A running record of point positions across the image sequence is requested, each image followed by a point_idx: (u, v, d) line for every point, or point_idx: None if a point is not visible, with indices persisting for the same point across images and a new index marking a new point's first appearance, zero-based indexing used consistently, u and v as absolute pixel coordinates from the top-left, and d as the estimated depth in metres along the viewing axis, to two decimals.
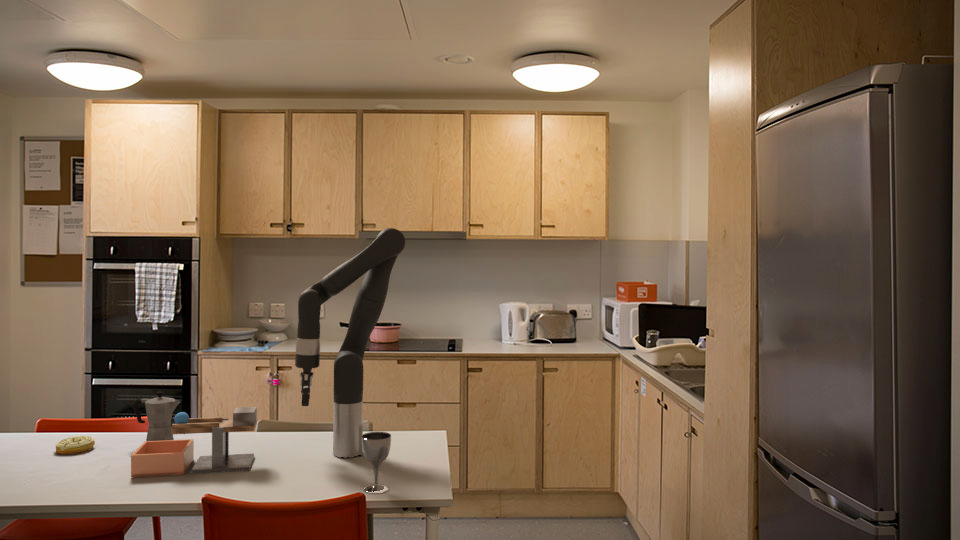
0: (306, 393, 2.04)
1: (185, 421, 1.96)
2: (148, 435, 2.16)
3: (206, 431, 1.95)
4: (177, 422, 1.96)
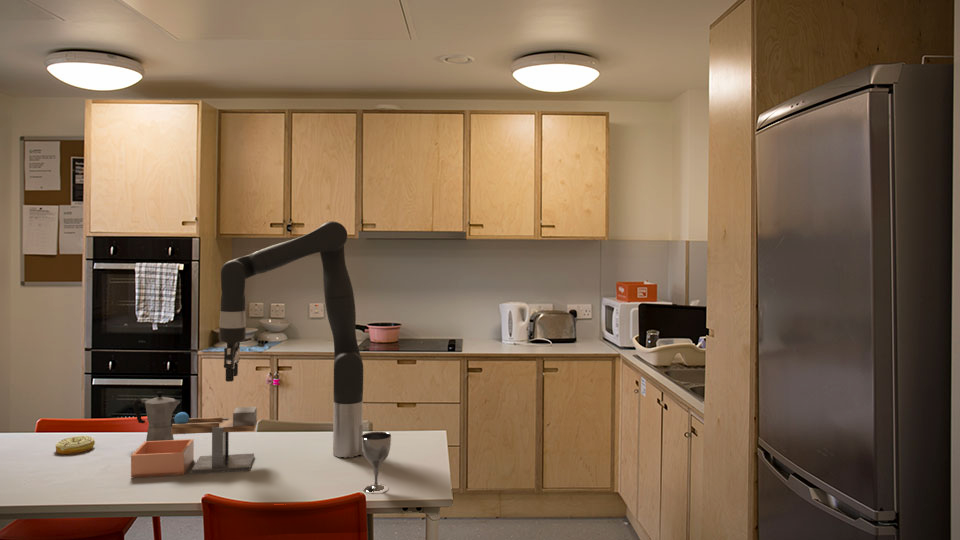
0: (229, 368, 1.95)
1: (185, 421, 1.96)
2: (148, 435, 2.16)
3: (206, 431, 1.95)
4: (177, 422, 1.96)
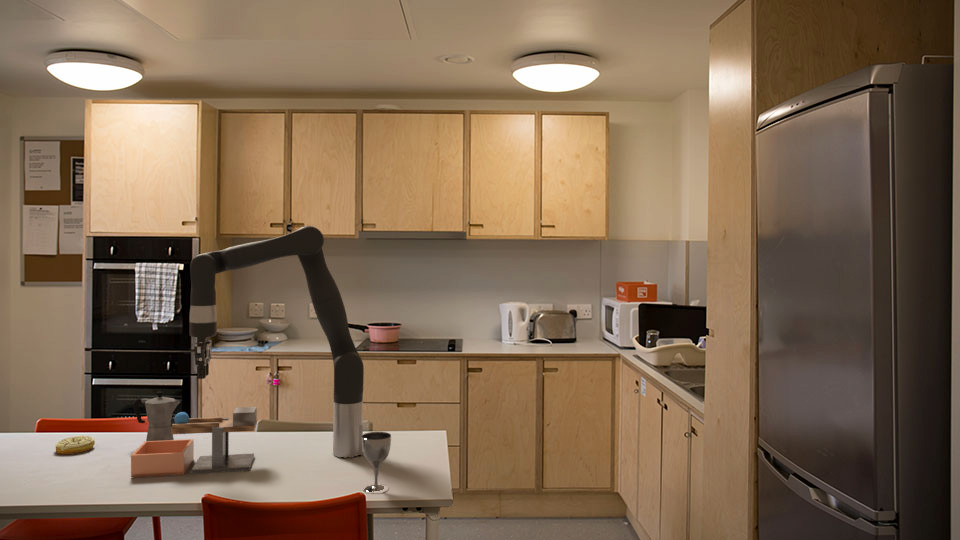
0: (201, 365, 1.94)
1: (185, 421, 1.96)
2: (148, 435, 2.16)
3: (206, 431, 1.95)
4: (177, 422, 1.96)
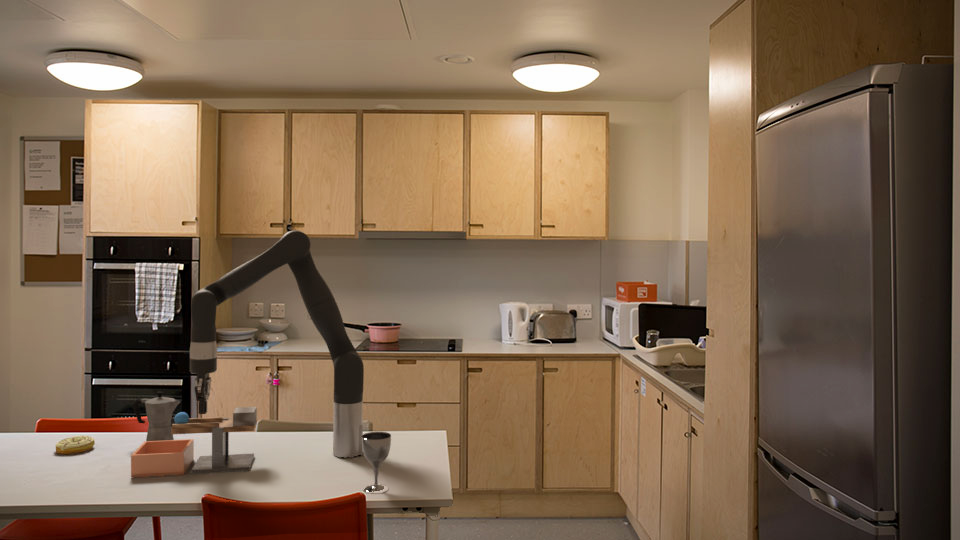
0: (202, 401, 1.96)
1: (185, 421, 1.96)
2: (148, 435, 2.16)
3: (206, 431, 1.95)
4: (177, 422, 1.96)
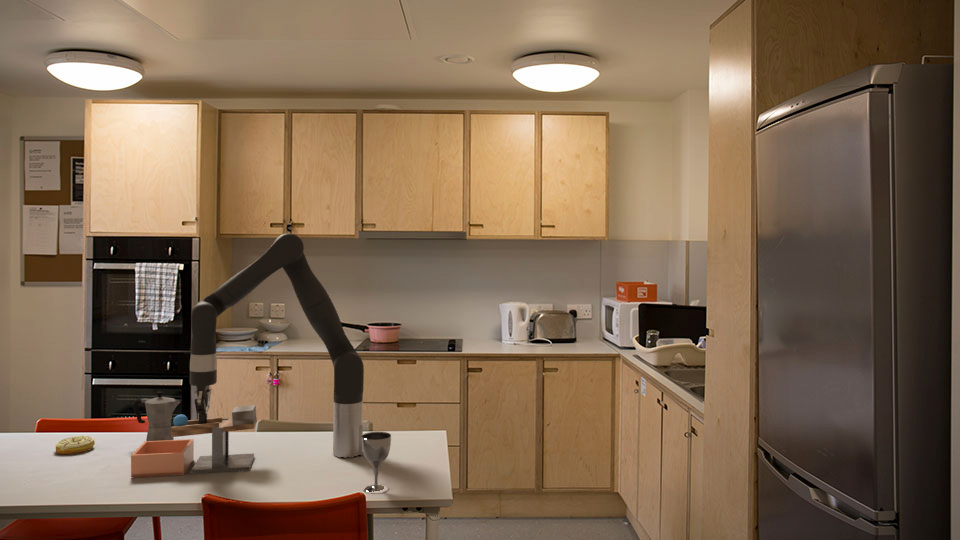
0: (202, 413, 1.96)
1: (184, 423, 1.96)
2: (148, 435, 2.16)
3: (206, 432, 1.95)
4: (176, 425, 1.96)
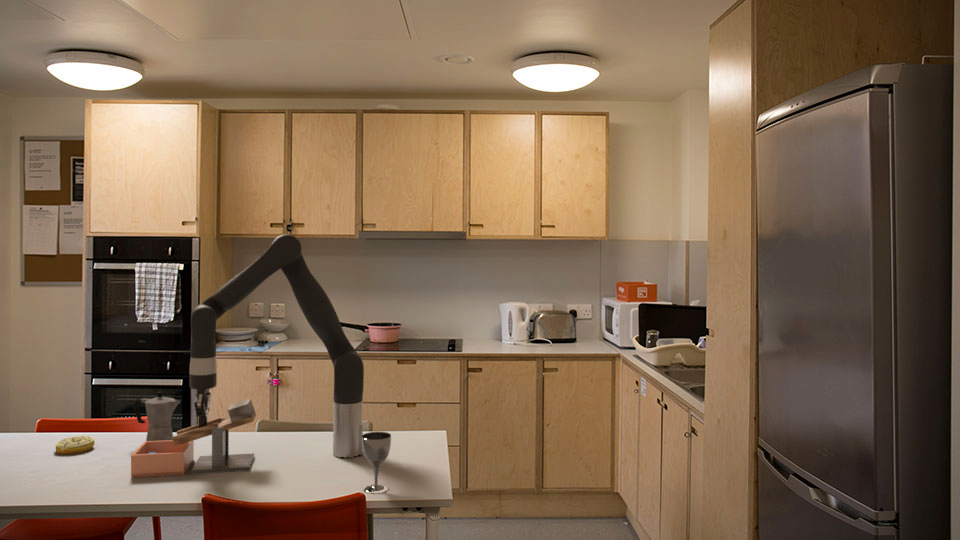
0: (202, 416, 1.96)
1: None
2: (148, 435, 2.16)
3: (207, 434, 1.95)
4: None
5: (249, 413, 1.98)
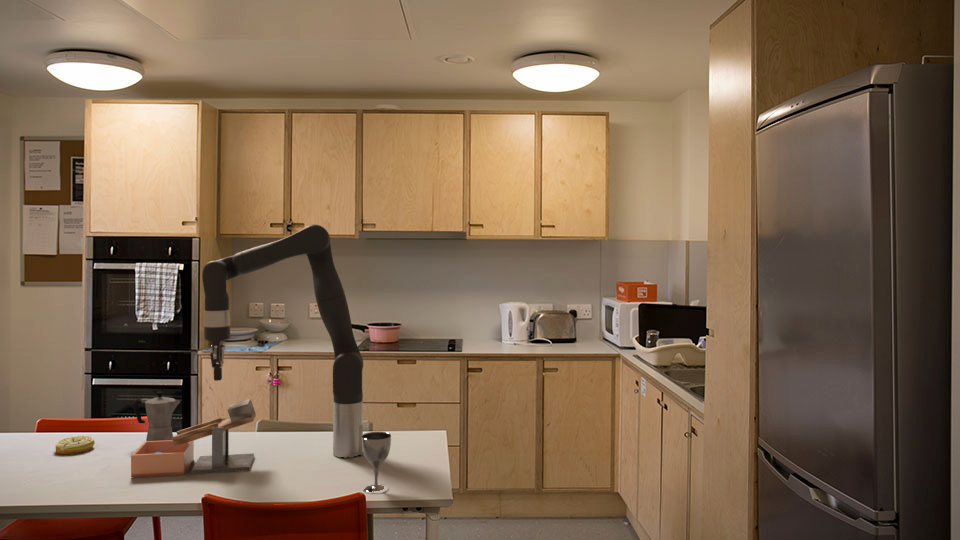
0: (217, 367, 2.03)
1: None
2: (148, 435, 2.16)
3: (207, 434, 1.95)
4: None
5: (249, 413, 1.98)
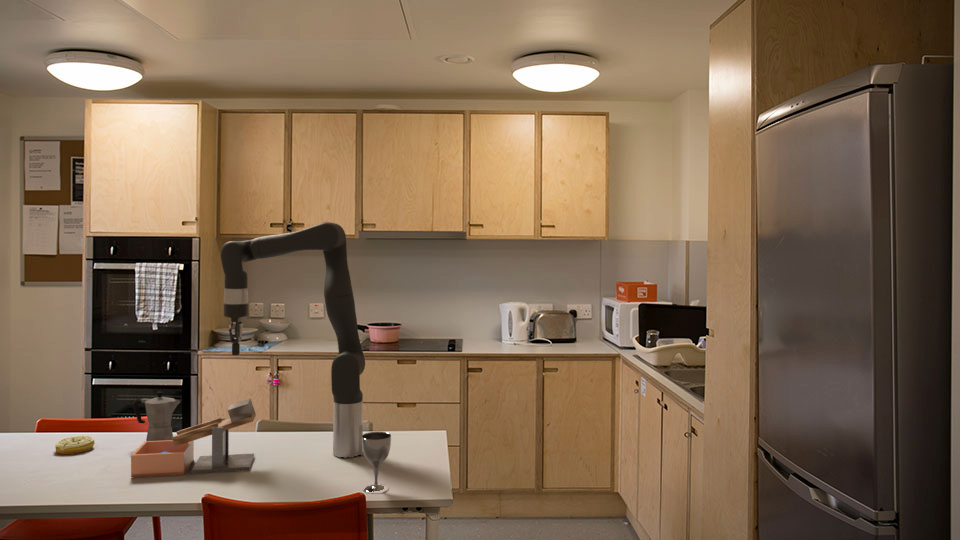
0: (235, 342, 2.14)
1: None
2: (148, 435, 2.16)
3: (207, 434, 1.95)
4: None
5: (249, 413, 1.98)
